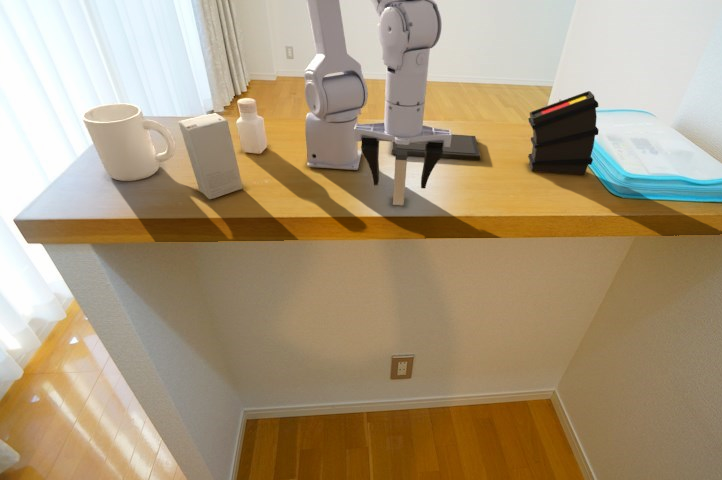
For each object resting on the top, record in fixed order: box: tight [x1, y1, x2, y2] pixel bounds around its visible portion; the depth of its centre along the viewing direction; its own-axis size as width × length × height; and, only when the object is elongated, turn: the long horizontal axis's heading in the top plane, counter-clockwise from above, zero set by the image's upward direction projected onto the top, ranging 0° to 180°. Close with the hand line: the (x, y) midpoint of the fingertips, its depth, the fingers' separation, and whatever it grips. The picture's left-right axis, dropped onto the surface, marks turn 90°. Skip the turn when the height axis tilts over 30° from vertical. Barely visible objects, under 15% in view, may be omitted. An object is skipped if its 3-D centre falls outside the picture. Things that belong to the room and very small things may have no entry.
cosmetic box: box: [177, 112, 244, 200], centre depth 66 cm, size 6×4×12 cm
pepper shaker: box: [236, 97, 268, 155], centre depth 79 cm, size 4×4×10 cm
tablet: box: [391, 133, 481, 161], centre depth 87 cm, size 18×10×1 cm, turn 88°
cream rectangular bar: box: [392, 150, 408, 206], centre depth 67 cm, size 2×2×9 cm
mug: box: [81, 103, 176, 182], centre depth 70 cm, size 12×8×10 cm
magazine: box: [527, 90, 599, 176], centre depth 79 cm, size 4×13×15 cm, turn 87°
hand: (399, 183), depth 68 cm, fingers open, 7 cm apart
